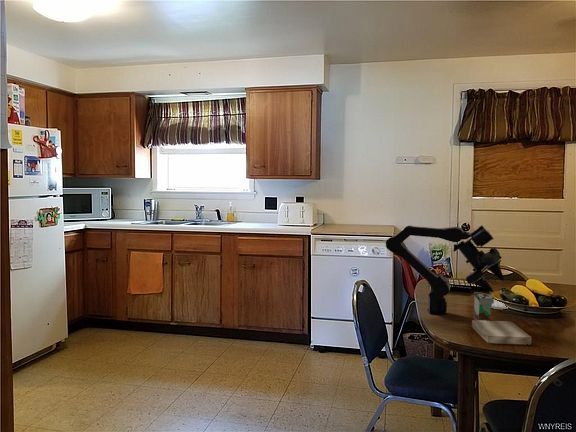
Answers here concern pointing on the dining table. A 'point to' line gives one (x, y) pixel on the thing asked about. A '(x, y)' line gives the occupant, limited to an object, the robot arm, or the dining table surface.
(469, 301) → the dining table surface
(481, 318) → the food container
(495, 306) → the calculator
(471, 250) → the robot arm
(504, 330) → the pale grey slab
